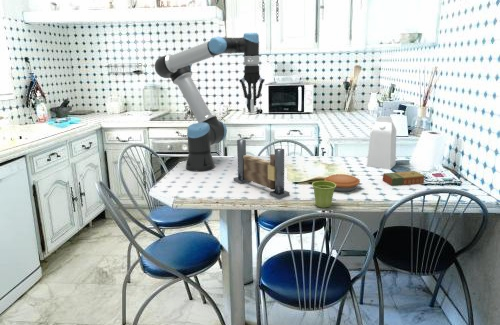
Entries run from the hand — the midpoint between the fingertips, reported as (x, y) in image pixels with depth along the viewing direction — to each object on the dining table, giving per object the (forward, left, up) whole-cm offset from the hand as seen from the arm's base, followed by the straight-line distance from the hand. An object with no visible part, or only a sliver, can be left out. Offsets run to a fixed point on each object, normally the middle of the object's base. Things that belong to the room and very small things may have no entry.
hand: (252, 111), depth 211 cm
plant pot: (+37, -53, -30) cm, 71 cm away
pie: (+45, -30, -30) cm, 62 cm away
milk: (+67, +10, -30) cm, 74 cm away
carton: (+73, -19, -30) cm, 81 cm away
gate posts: (+9, -35, -29) cm, 46 cm away
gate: (+9, -35, -27) cm, 45 cm away
